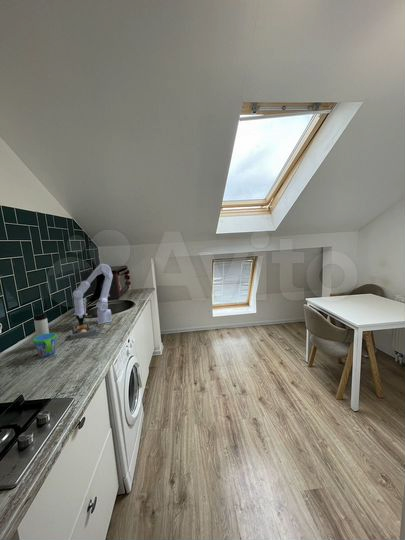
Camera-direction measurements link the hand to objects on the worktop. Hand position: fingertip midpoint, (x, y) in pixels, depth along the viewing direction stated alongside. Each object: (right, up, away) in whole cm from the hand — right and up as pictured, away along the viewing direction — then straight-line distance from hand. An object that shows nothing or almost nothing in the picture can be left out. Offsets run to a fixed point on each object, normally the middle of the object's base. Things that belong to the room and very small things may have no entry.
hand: (81, 324), depth 164 cm
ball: (+10, -1, -16) cm, 19 cm away
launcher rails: (+2, -2, -3) cm, 4 cm away
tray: (+9, -3, -14) cm, 17 cm away
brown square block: (+5, -2, -8) cm, 10 cm away
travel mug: (-7, -6, -28) cm, 30 cm away
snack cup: (+2, -7, -39) cm, 40 cm away
